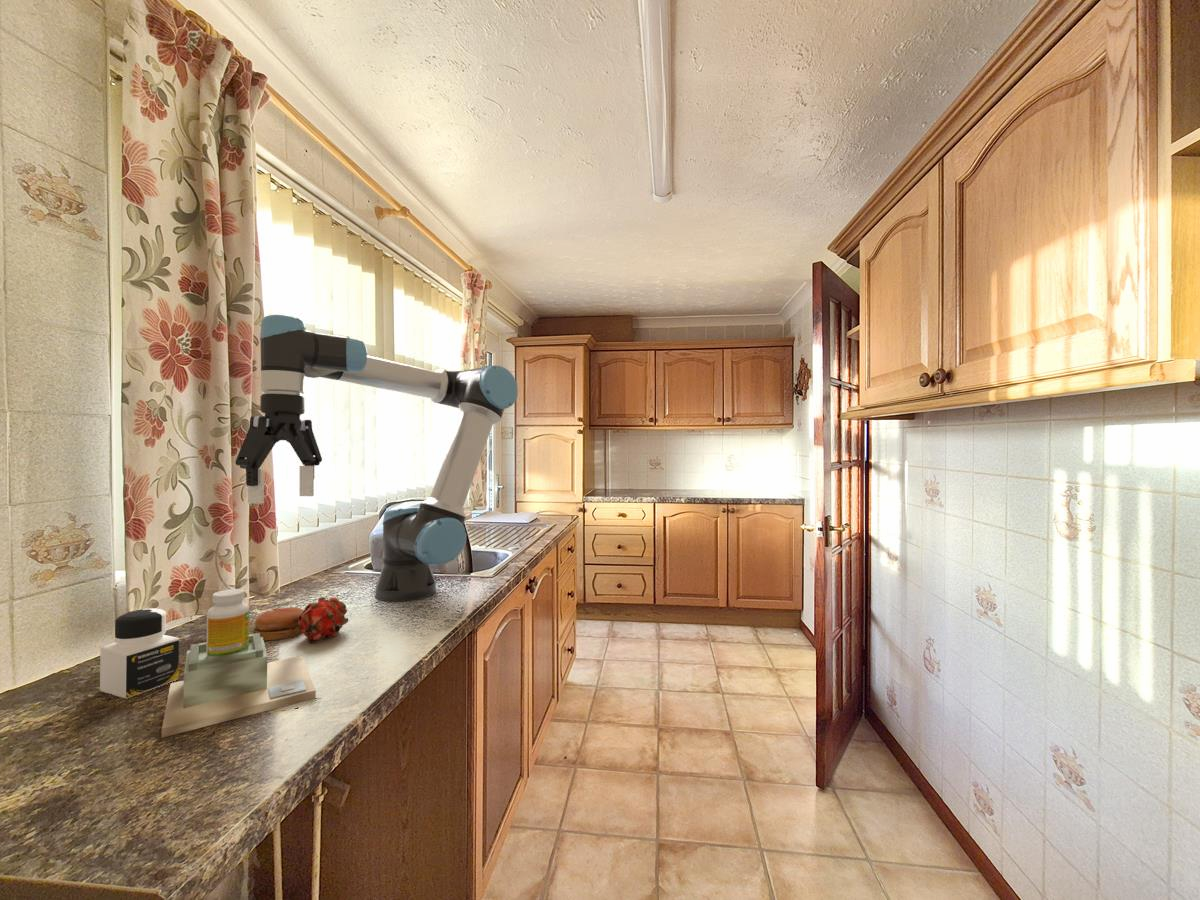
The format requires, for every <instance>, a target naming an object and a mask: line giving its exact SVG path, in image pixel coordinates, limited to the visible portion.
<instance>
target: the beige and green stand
mask: <svg viewBox="0 0 1200 900" xmlns="http://www.w3.org/2000/svg"><path fill="white" fill-rule="evenodd" d="M184 664H185V665H184V671H183V680H180V681H174V682H172V683H169V684H170V685H169V690H168V696H167V701H166V706H165V710H164V716H163V721H162V726H161V739H163V738H166V737H167V738H168V737H171V736H174V735H178V734H181V733H182V734H183V733H186V732H190V731H193V730H197V729H201V728H204V727H209V726H213V725H216V724H217V725H218V724H220V723H221V724H222V723H225V722H228V721H231V720H235V719H239V718H243V717H248V716H252V715H255V714H259V713H264V712H267V711H271V710H274V709H275V710H276V709H279V708H282V707H283V708H284V707H286V706H290V705H294V704H298V703H301V702H302V703H303V702H306V701H308V700H313V699H316V698H317V690H316V689H317V688H315V684H314V682H313V679H312V677H311V675H310V671H309V670H308V667H307V665H306V662H305V660H304V657H303V656H302V655H298V656H294V657H289V658H284V659H280V660H274V661H269V662H268V652H267V650H266V645H265V641H264V640H263V637H260V633H255V634H254V633H252V634H250V633H249V649H248V650H247V651H244V652H239V653H234V654H229V655H224V656H219V657H214V658H207V656H206V641H205V642H200V643H194V644H191V645H190V650H187V651H186V657H185V663H184Z"/></svg>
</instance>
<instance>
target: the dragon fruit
mask: <svg viewBox="0 0 1200 900" xmlns="http://www.w3.org/2000/svg"><path fill="white" fill-rule="evenodd" d="M303 610H304V611H303V613H302V614H301V615H300V617H299V619H298V623H299V631H301V634H303V635H304V636H305V637H306V638H307V642H308V643H309V644H311V643H313V642H318V641H320V640H323V639H325V637H326V636H328V637H329V638H332V639H333V638H334V637H335V636H337V635H338V634H339V633H340V630H341V629H342V628H343V626H344V625H346V624H347V623H348V622H349V618H348V617H345V616H346V614H347V612H348V609H347V605H346V604H345V603H344V602H343V601H341V600H339V599H338V598H337V597H335V596H334V597H330V598H328V599H326V598H325V597H324V596H323V597H319V598H318V601H317V602H312V603H308V604H306V606H305V608H304V609H303Z"/></svg>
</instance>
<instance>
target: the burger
mask: <svg viewBox="0 0 1200 900" xmlns="http://www.w3.org/2000/svg"><path fill="white" fill-rule="evenodd" d="M304 610H305V609H302V608H299V607H295V606H294V607H281V608H280V607H279V608H273V609H271V610H267V611H264V612H262V613H261V614H259V616H257V618H256V620H255V621H254V626H255V627H254V628H253V629H252V634H255V633H260V637H263V639H265V641H278V640H284V638H285V639H289V637H290V638H292V636H293V637H296V636H298V635H300V634H302V632H301V631H299V623H298V619H299V617H300V615H301V614H302V613H303V611H304ZM277 639H278V640H277Z"/></svg>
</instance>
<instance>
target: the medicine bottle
mask: <svg viewBox="0 0 1200 900" xmlns="http://www.w3.org/2000/svg"><path fill="white" fill-rule="evenodd" d="M114 623H115V624H114V633H115V634H114V642H113V643H110V644H105V645H103V646H102V647H100V653H99V654H100V661H99V662H100V664H99V665H100V666H99V671H100V672H99V673H100V674H99V676H100V677H99V691H100V692H102V693H106V694H108V695H111V694H112V696H115V697H118V698H122V699H124V698H125V700H128V698H129V699H132V698H134V697H133V696H135V695H137V696H139V695H138V694H140V695H142V694H141V693H143V692H145V693H147V692H146V691H148V692H150V691H153V690H156V689H158V688H161V687H163V685H164V686H166V685H169V684H171V683H170V682H172V683H174V682H177V681H178V680H179V678H180V677H179V675H180V664H179V663H180V638H179V637H176V636H171V635H167V634H166V631H167V612H166V611H165V610H163V609H161V608H155V607H154V608H153V607H152V608H142V609H136V610H133V611H128V612H125V613H124V614H122V615H120V616H118V617H117V618H116V619H115V621H114ZM176 680H177V681H176ZM173 681H174V682H173ZM168 683H169V684H168ZM165 684H166V685H165ZM160 686H161V687H160ZM157 687H158V688H157ZM155 688H156V689H155ZM152 689H153V690H152ZM149 690H150V691H149ZM143 694H144V693H143ZM131 697H132V698H131ZM135 697H136V696H135Z"/></svg>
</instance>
